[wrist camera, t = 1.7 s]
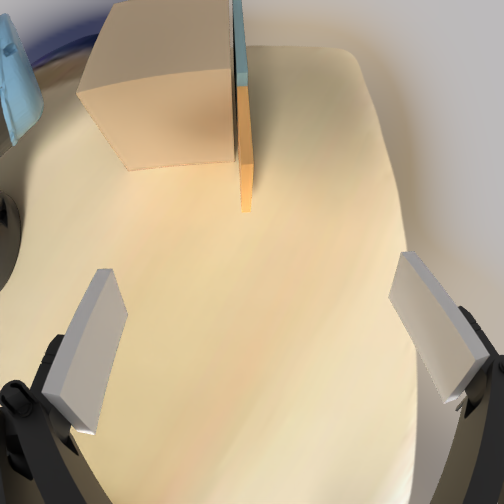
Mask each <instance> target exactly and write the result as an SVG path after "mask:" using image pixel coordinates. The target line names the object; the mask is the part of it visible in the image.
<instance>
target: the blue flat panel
mask: <svg viewBox="0 0 504 504" xmlns="http://www.w3.org/2000/svg"><path fill="white" fill-rule="evenodd" d="M233 51H234V79H235V100H236V120H237V140H238V154H239V173H240V191H241V209H242V212H251V198H252V184H253V170H254V159H253V146H252V134H251V121H250V109H249V96H248V67H247V56H246V45H245V35H244V23H243V13H242V2H241V0H233Z"/></svg>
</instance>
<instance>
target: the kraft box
mask: <svg viewBox="0 0 504 504" xmlns="http://www.w3.org/2000/svg"><path fill="white" fill-rule="evenodd" d="M76 95H77V96H78V98H79V99H80V101H81V102H82V104H83V105H84V107H85V108H86V110H87V111H88V113H89V114H90V116H91V117H92V119H93V120H94V122H95V123H96V125H97V126H98V128H99V129H100V131H101V132H102V134H103V135H104V137H105V138H106V140H107V141H108V142H109V144H110V145H111V147H112V148H113V150H114V151H115V153H116V154H117V155H118V157H119V158H120V160H121V161H122V163H123V164H124V165H125V167H126V168H127V170H128V171H134V170H142V169H150V168H160V167H169V166H180V165H191V164H204V163H218V162H235V158H234V135H233V111H232V86H231V58H230V29H229V0H128V1H124V2H120V3H116V4H114V5H113V7H112V9H111V11H110V13H109V15H108V17H107V19H106V21H105V23H104V25H103V27H102V29H101V31H100V33H99V36H98V38H97V40H96V42H95V44H94V47H93V49H92V52H91V54H90V56H89V59H88V61H87V64H86V66H85V69H84V72H83V74H82V77H81V80H80V82H79V85H78V88H77V91H76Z"/></svg>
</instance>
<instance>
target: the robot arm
mask: <svg viewBox="0 0 504 504" xmlns="http://www.w3.org/2000/svg"><path fill="white" fill-rule="evenodd" d="M43 108H44V101H43V97H42V94H41V91H40V88H39V85H38V83H37V80H36V78H35V75H34V72H33V70H32V67H31V65H30V62H29V60H28V58H27V55H26V53H25V51H24V48H23V45H22V43H21V40H20V38H19V36H18V33H17V31H16V28H15V27H14V24H13V23H12V21H11V19H10V16H9V15H8V14H6V13H5V14H2V15H0V157H1V156H2V155H3V154H4V153H5V152H6V151H7V150H8V149H9V148H10V147H11V146H12V145H13V146H15V145H16V144H17V143H18V140H19V139H20V138H21V137H22V136H23V135H24V134H25V133H26V132H27V131H28V130H29V129H30V128H31V127H32V126H33V125H34V124H35V123H36V122H37V121H38V120H39V119H40V117H41V115H42V112H43ZM19 244H20V218H19V213H18V209H17V207H16V204H15V203H14V201H13V200H12V198H11V197H10V196H8V195H7V194H5V193H4V192H2V191H1V190H0V291H1V290H2V288H3V287H4V286H5V284H6V283H7V281H8V279H9V277H10V275H11V273H12V270H13V268H14V265H15V262H16V258H17V254H18V250H19ZM388 298H389V299H390V301H391V303H392V305H393V306H394V308H395V310H396V312H397V313H398V315H399V317H400V319H401V321H402V322H403V324H404V326H405V328H406V330H407V332H408V333H409V335H410V337H411V339H412V341H413V343H414V345H415V347H416V348H417V350H418V352H419V354H420V356H421V358H422V360H423V362H424V364H425V366H426V368H427V370H428V372H429V374H430V376H431V378H432V380H433V382H434V384H435V386H436V389H437V391H438V392H439V395H440V397H441V399H442V401H443V403H447V402H449V401H452V400H455V399H457V398H458V397H459V396H460V394H461V393H462V392H463V391H464V390H465V392H466V394H467V396H466V397H465V398H464V399H463V401H462V402H461V403H460V404H459V405H458V406H457V408H456V411H458V410H459V409H460V408H461V407H462V410H461V414H460V418H459V422H458V426H457V430H456V433H455V436H454V440H453V443H452V446H451V449H450V453H449V456H448V459H447V462H446V464H445V467H444V470H443V473H442V475H441V478H440V481H439V483H438V486H437V488H436V491H435V493H434V495H433V498H432V500H431V502H430V504H497V502H498V504H504V355H499V354H498V353H497V351H496V350H495V348H494V347H493V345H492V344H491V342H490V341H489V340H488V338H487V336H486V335H485V334H484V332H483V331H482V330H481V327H480V326H479V325H478V323H476V320H475V319H474V318H473V316H472V315H471V313H470V312H468V311H467V310H466V309H465V308H463V307H462V306H459V307H457V306H456V304H455V303H454V301H453V300H452V299H451V297H450V296H449V295H448V293H447V292H446V291H445V289H444V288H443V287H442V285H440V283H439V282H438V280H437V279H436V278H435V276H434V275H433V274H432V273H431V271H430V270H429V269H428V268H427V266H426V265H425V264H424V263H423V261H422V260H421V259H420V258H419V257H418V255H417V254H416V253H415V252H414V251H411V252H401V254H400V258H399V262H398V266H397V269H396V273H395V277H394V280H393V284H392V287H391V290H390V294H389V297H388ZM127 316H128V313H127V310H126V307H125V304H124V302H123V299H122V296H121V293H120V290H119V287H118V284H117V281H116V278H115V275H114V272H113V269H98V270H97V272H96V273H95V275H94V277H93V279H92V281H91V283H90V285H89V287H88V288H87V290H86V292H85V294H84V296H83V298H82V300H81V302H80V304H79V306H78V308H77V310H76V312H75V314H74V317H73V319H72V321H71V323H70V325H69V327H68V329H67V331H66V334H65V335H59V334H58V335H57V336H56V337H55V338H54V339H53V340H52V341H51V342H50V344H49V346H48V348H47V350H46V352H45V356H44V357H43V359H42V361H41V362H42V364H40V366H39V368H38V371H37V373H36V376H35V378H34V381H33V383H32V386H31V388H30V390H29V388H28V387H27V386H26V385H25V384H24V383H23V382H22V381H20V380H13V381H10V382H8V383H7V384H5V385H4V386H3V388H2V389H1V391H0V405H1V406H2V407H0V504H112V502H111V501H110V499H109V498H108V496H107V495H106V493H105V492H104V490H103V489H102V487H101V486H100V484H99V482H98V481H97V479H96V477H95V476H94V474H93V472H92V471H91V469H90V467H89V466H88V464H87V462H86V460H85V458H84V457H83V455H82V453H81V451H80V449H79V447H78V445H77V443H76V442H75V440H74V438H73V436H72V434H71V433H70V428H71V425H72V426H73V427H74V428H75V429H76V430H77V431H78V432H82V433H88V434H94V435H95V434H96V429H97V425H98V420H99V416H100V411H101V407H102V403H103V399H104V395H105V391H106V387H107V384H108V380H109V376H110V373H111V369H112V365H113V362H114V358H115V355H116V351H117V348H118V345H119V341H120V338H121V335H122V332H123V329H124V325H125V322H126V319H127Z"/></svg>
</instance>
